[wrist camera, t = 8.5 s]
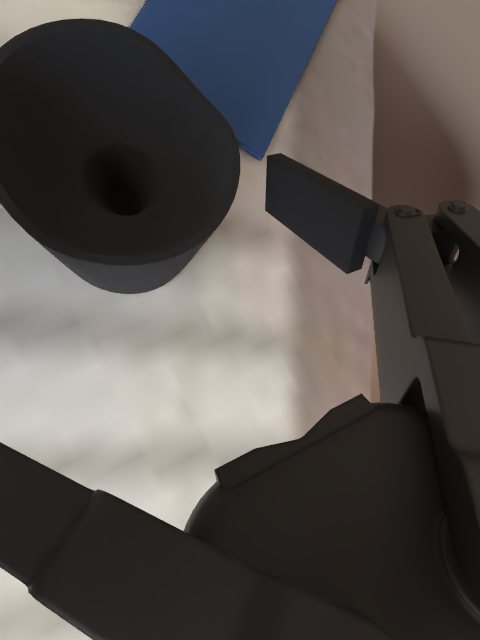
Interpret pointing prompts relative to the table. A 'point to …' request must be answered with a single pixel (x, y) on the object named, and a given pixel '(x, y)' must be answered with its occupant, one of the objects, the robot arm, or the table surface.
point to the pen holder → (111, 153)
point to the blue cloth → (239, 54)
